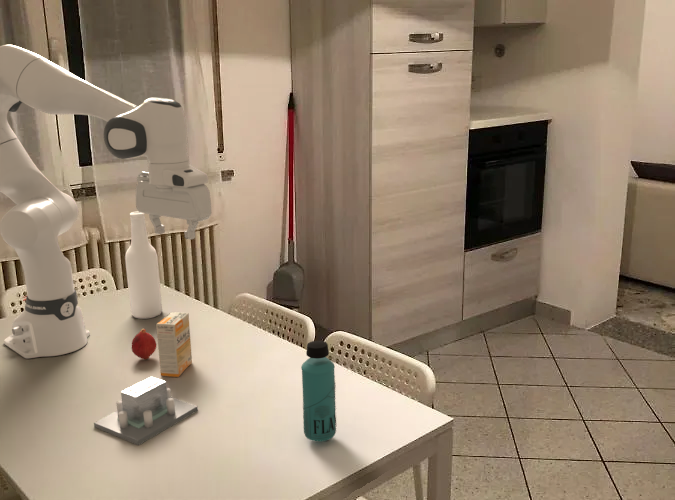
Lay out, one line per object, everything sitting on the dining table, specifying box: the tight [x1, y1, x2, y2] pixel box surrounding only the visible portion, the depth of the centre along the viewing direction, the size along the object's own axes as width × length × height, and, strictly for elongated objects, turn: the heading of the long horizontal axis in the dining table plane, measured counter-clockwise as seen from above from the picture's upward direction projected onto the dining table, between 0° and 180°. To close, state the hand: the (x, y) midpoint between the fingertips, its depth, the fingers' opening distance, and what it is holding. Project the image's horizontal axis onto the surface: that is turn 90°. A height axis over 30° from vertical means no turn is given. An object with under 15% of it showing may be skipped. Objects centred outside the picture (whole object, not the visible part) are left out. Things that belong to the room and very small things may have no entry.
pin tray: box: [93, 387, 198, 446], centre depth 144 cm, size 13×16×4 cm
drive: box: [120, 376, 168, 424], centre depth 144 cm, size 4×8×6 cm, turn 146°
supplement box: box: [155, 311, 193, 378], centre depth 165 cm, size 8×5×13 cm, turn 168°
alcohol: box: [124, 210, 163, 320], centre depth 199 cm, size 9×9×30 cm
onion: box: [131, 328, 157, 360], centre depth 172 cm, size 6×6×8 cm
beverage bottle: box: [300, 340, 338, 442], centre depth 133 cm, size 6×7×20 cm
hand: (174, 236), depth 157 cm, fingers open, 8 cm apart
